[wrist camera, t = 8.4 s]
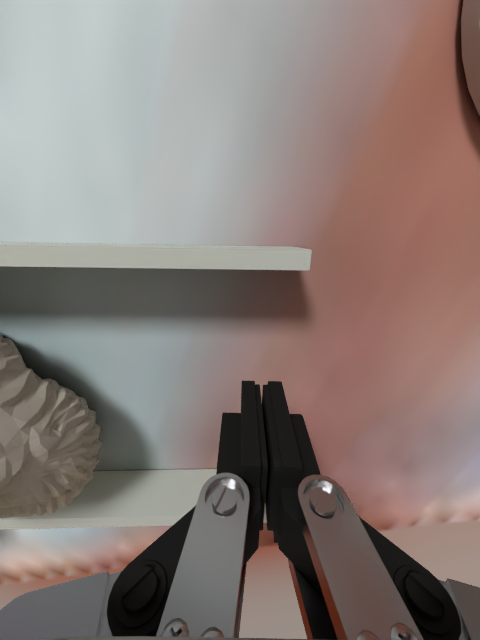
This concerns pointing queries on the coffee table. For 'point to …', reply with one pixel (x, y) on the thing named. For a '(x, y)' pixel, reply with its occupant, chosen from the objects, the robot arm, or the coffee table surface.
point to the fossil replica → (41, 440)
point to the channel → (141, 485)
